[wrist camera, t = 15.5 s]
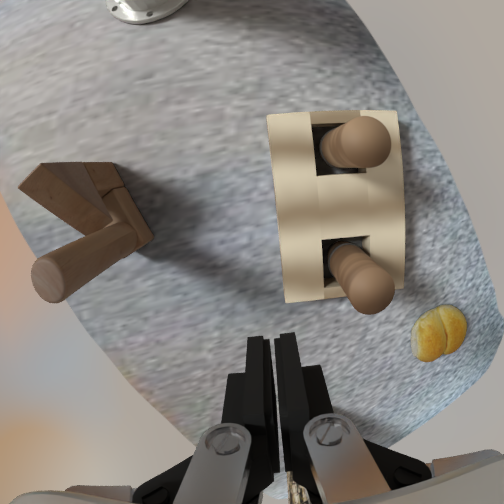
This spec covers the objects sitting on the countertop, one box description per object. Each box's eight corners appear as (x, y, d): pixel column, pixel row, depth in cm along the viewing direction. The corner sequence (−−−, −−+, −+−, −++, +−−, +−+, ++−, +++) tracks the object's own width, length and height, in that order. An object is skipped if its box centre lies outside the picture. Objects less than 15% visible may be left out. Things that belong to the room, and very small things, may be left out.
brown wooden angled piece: (112, 160, 34) (9, 163, 17) (156, 237, 36) (76, 294, 19) (91, 177, 35) (-14, 192, 17) (132, 252, 37) (48, 314, 20)
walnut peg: (321, 238, 36) (348, 271, 24) (356, 234, 36) (396, 265, 24) (323, 273, 37) (348, 318, 25) (357, 269, 37) (394, 311, 25)
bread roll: (458, 342, 39) (471, 355, 35) (409, 360, 40) (419, 376, 36) (461, 294, 37) (476, 305, 33) (408, 312, 38) (421, 325, 34)
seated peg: (312, 132, 33) (337, 115, 21) (349, 131, 33) (389, 114, 21) (316, 169, 34) (343, 170, 22) (352, 167, 34) (394, 168, 22)
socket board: (266, 119, 33) (266, 115, 30) (386, 114, 32) (396, 110, 29) (283, 293, 38) (285, 303, 35) (394, 279, 37) (403, 288, 34)
